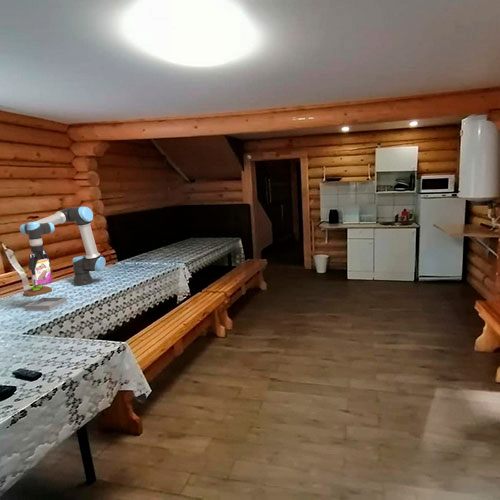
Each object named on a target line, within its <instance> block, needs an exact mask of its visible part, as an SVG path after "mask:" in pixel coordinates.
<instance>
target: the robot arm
mask: <svg viewBox="0 0 500 500" xmlns="http://www.w3.org/2000/svg"><path fill="white" fill-rule="evenodd" d="M93 220H94V213H93V211H92V209H91V208H90V207H88V206H73V207H66V208H63V209H61V210H58V211H56V212H55V213H54V214H52V215H48V216H45V217H44V218H41V219H37V220H35V221H31V222H30V221H29V222H27V223H22V224H21V225H20V227H19V231H20V234H22V235H25V236H28V240H29V246H30V247H29V249H30V252H32V254H29V256H28V257H29V259H28V268H27V269H28V270H29V271H30V272H31V271H32V275H33V280H34V279H38V277H37V271H36V270H35V268H36V264H37V261H38V260H40V259H49V264H50V265H51V263H52V261H51V260H50V257H49V255H48V254H47V253H48V252H47V250H45V248H44V245H43V238H42V237H43V235H49V234H52V233H54V232H55V226H57V225H59V224H65V223H75V226H76V227H78V229H79V232H80V235H81V236H80V237H81V239H82V243H83V247H84V249H85V250H84V251H85V253H86V254H83V255H78V256H75V257H73V258H72V260H71V261H72V267H73V275H74V277H73V282H72V283H73V284H72V285H74V286H76V287H77V286H78V287H79V286H86V285H90V284H93V283H94V280H93V279H94V278H93V277H92V275H91V273H90V272H100V271H101V272H102V271H103V270H104V269H105V266H106V258H105V257H104V256H101V252H99V251H98V248H97V244H96V241H95V236H94V233H93V230H92V227H91V224H92V221H93Z"/></svg>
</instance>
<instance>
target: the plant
mask: <svg viewBox="0 0 500 500" xmlns="http://www.w3.org/2000/svg"><path fill="white" fill-rule="evenodd" d="M28 287H29V289H26V290H24V291H23V294H22V295H23V297H26V298H27V297H28V298H31V297H37V296H41V295H45V294H46V295H47V294H49V293H51V292H52V291H53V288H52V287H51V286H47V285H46V286H45V285H44V284H42V285H37V286H34V285H33V284H32V286H31V285H30V286H28Z"/></svg>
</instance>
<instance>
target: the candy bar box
mask: <svg viewBox="0 0 500 500" xmlns="http://www.w3.org/2000/svg"><path fill="white" fill-rule="evenodd" d="M49 260H50V258H49V259H39V260H38V261H37V264H36V268H35V270H36V271H37V277H38V279H34V280H33V275H32V271H31V270H30V274H31V281H32V282H31V283H32V286H33V285H34V286H37V285H40V286H41V285H45V284H51V283H53V277H52V273H51V272H52V271H51V270H52V269H51V263H50V264H49Z"/></svg>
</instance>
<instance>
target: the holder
mask: <svg viewBox="0 0 500 500" xmlns="http://www.w3.org/2000/svg"><path fill="white" fill-rule="evenodd" d="M67 302H68V301H67V297H66V296H64V297H62V296H60V297H58V296H57V297H56V296H54V297H52V296H51V297H41V298H39V299H37V300H35V301H33V302H30V303H28V304H26V305H24V310H25V312H45V311H46V312H50V311H52V310H55V309H56V308H58V307H60V306H62V305H64V304H66V303H67Z"/></svg>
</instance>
